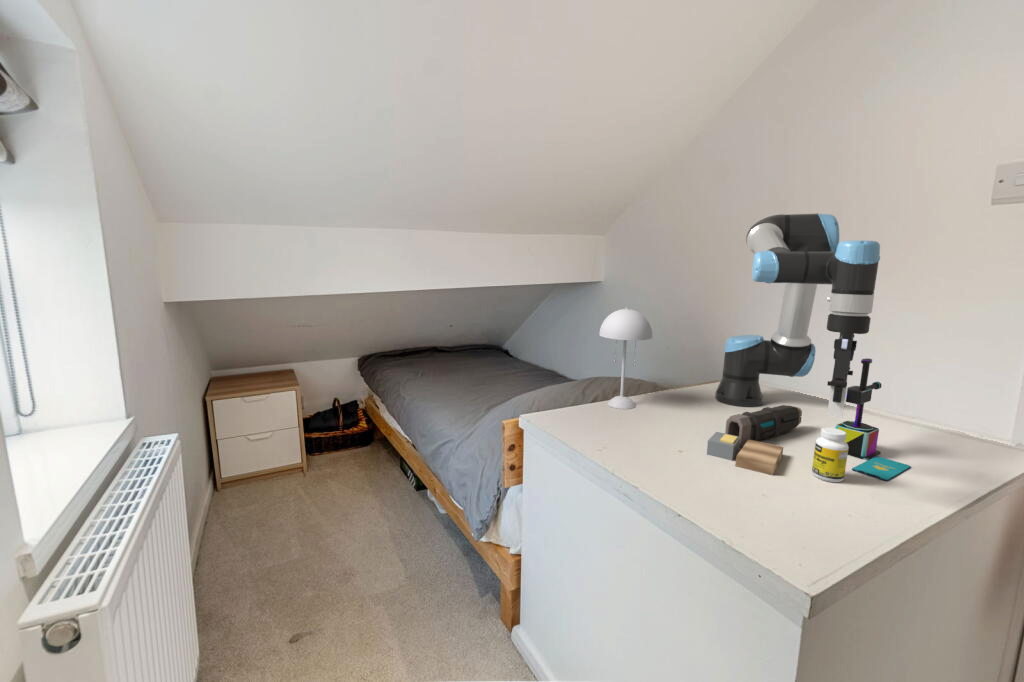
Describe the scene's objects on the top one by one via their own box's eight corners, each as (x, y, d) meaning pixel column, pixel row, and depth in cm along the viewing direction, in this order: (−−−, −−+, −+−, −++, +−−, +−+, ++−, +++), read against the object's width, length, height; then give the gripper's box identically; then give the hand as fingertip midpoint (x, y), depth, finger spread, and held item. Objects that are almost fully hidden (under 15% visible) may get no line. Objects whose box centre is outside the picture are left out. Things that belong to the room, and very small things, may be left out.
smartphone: (912, 465, 115) (887, 479, 107) (911, 468, 115) (887, 483, 107) (876, 455, 121) (850, 468, 113) (876, 458, 121) (850, 471, 113)
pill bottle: (805, 473, 110) (810, 427, 108) (823, 469, 112) (829, 424, 111) (831, 485, 105) (837, 437, 103) (850, 480, 107) (857, 433, 105)
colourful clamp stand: (861, 463, 117) (875, 365, 113) (821, 450, 124) (833, 359, 120) (900, 443, 130) (914, 356, 126) (862, 433, 138) (874, 350, 134)
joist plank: (747, 448, 125) (748, 439, 124) (782, 456, 120) (783, 446, 120) (735, 465, 114) (736, 456, 113) (773, 475, 109) (774, 464, 108)
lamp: (588, 398, 168) (593, 305, 163) (634, 397, 171) (639, 305, 166) (607, 413, 151) (612, 310, 146) (656, 411, 155) (663, 310, 149)
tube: (808, 443, 137) (746, 449, 122) (785, 441, 143) (722, 446, 128) (806, 405, 139) (743, 406, 123) (783, 404, 144) (720, 405, 129)
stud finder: (714, 446, 127) (716, 430, 126) (739, 451, 123) (740, 435, 122) (706, 455, 120) (708, 438, 120) (732, 461, 117) (733, 444, 116)
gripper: (832, 309, 115) (821, 394, 118) (824, 316, 95) (811, 419, 98) (871, 311, 110) (858, 400, 113) (870, 319, 90) (855, 427, 94)
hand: (836, 409), depth 106 cm, fingers open, 13 cm apart
